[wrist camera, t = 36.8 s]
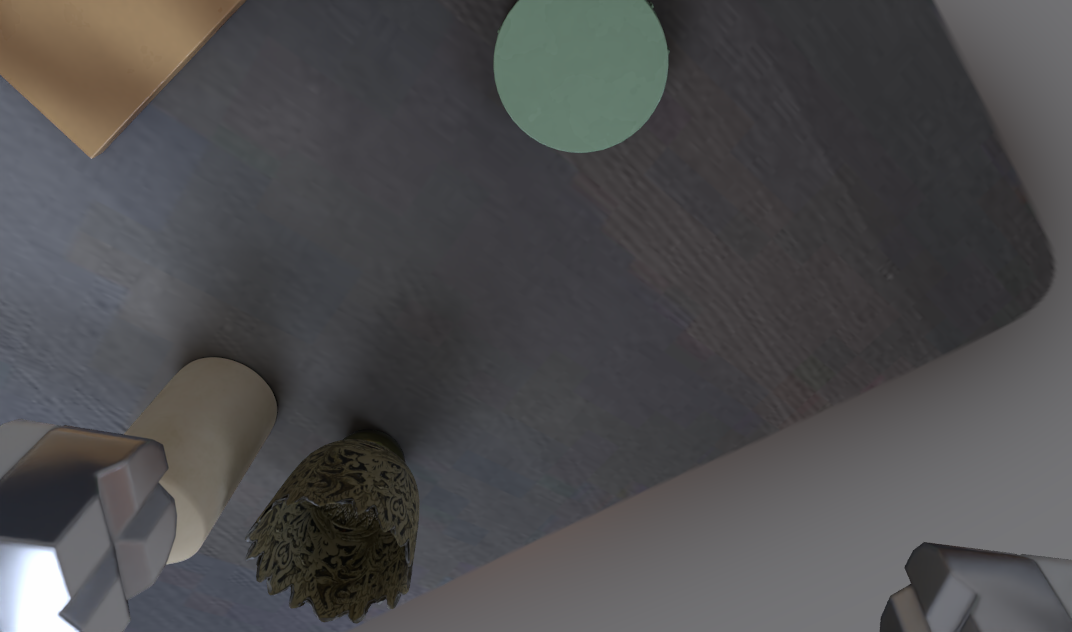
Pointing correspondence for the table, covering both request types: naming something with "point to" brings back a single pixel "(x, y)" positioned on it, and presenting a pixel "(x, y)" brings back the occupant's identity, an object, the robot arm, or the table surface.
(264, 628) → the table surface
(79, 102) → the cork board
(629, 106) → the lid
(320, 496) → the cup
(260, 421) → the candle
